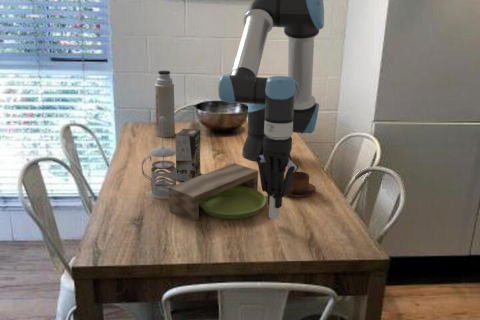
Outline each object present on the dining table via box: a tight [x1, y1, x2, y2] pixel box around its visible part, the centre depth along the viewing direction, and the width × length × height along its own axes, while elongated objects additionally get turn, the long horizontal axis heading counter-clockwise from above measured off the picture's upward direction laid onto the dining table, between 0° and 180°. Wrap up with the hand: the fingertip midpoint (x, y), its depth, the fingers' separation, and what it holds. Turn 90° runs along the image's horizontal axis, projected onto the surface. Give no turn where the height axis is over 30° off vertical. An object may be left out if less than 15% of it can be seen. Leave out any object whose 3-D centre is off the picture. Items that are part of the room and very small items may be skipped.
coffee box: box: [175, 128, 201, 182], centre depth 172 cm, size 9×6×16 cm
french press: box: [141, 117, 177, 200], centre depth 156 cm, size 10×12×25 cm
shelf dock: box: [168, 162, 259, 222], centre depth 154 cm, size 10×29×8 cm, turn 140°
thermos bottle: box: [154, 70, 176, 138], centre depth 218 cm, size 8×8×28 cm
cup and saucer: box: [287, 171, 317, 198], centre depth 163 cm, size 12×12×6 cm
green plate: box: [199, 186, 267, 220], centre depth 151 cm, size 21×21×3 cm
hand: (273, 217), depth 141 cm, fingers closed
